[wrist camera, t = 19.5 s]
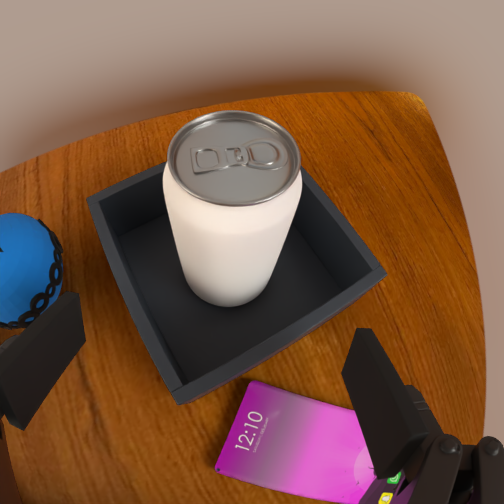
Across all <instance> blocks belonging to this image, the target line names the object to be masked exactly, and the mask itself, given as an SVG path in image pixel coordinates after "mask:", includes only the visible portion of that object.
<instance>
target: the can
mask: <svg viewBox="0 0 504 504" xmlns="http://www.w3.org/2000/svg"><path fill="white" fill-rule="evenodd" d="M300 166H301V155H300V151H299V148H298V145H297V143H296V141H295V140H294V138H293V137H292V136H291V134H290V133H289V132H288V131H287V130H286V129H285V128H283V127H282V126H281V125H279V124H278V123H276V122H275V121H273V120H271V119H269V118H267V117H264V116H262V115H259V114H255V113H251V112H246V111H236V110H228V111H218V112H213V113H209V114H205V115H202V116H200V117H198V118H195V119H194V120H192V121H190V122H188V123H187V124H186V125H184V126H183V127H182V128H181V129H180V130H179V131H178V132H177V133H176V134H175V136H174V137H173V139H172V141H171V143H170V145H169V148H168V153H167V163H166V166H165V169H164V173H163V191H164V196H165V202H166V206H167V211H168V215H169V219H170V223H171V227H172V231H173V235H174V239H175V243H176V247H177V251H178V254H179V258H180V262H181V265H182V269H183V272H184V275H185V278H186V281H187V283H188V285H189V286H190V288H191V289H192V291H193V292H194V293H195V294H196V295H197V296H198V297H200V298H201V299H202V300H204V301H206V302H208V303H210V304H213V305H216V306H221V307H234V306H239V305H243V304H245V303H248V302H250V301H251V300H253V299H255V298H256V297H257V296H258V295H259V294H260V293H261V292H262V291H263V290H264V288H265V287H266V285H267V283H268V281H269V279H270V277H271V274H272V272H273V269H274V267H275V264H276V262H277V259H278V257H279V254H280V252H281V249H282V246H283V244H284V241H285V239H286V236H287V233H288V231H289V228H290V225H291V223H292V220H293V217H294V214H295V212H296V209H297V206H298V203H299V200H300V196H301V191H302V176H301V171H300Z"/></svg>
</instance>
